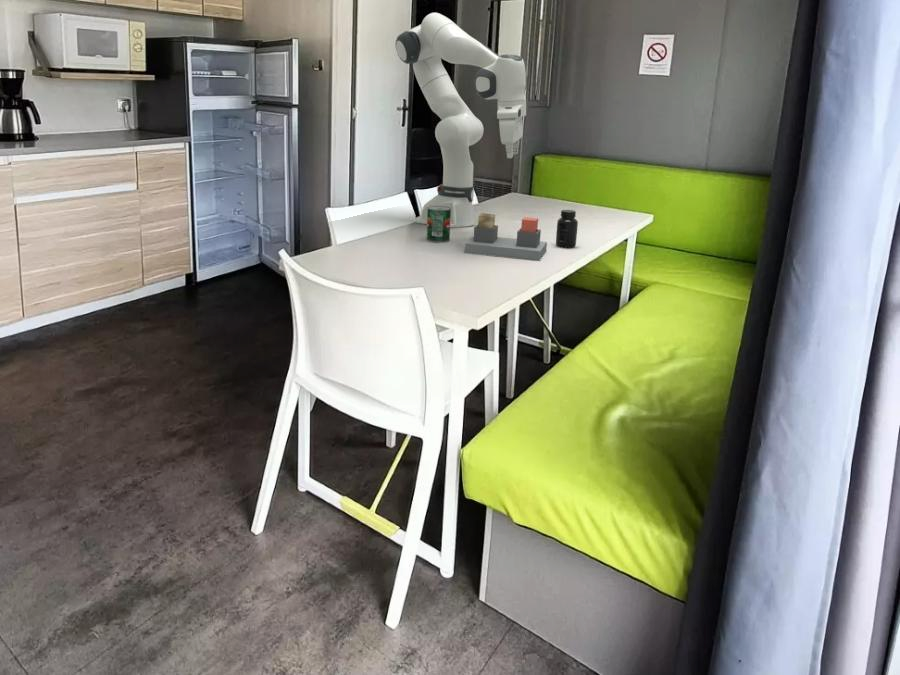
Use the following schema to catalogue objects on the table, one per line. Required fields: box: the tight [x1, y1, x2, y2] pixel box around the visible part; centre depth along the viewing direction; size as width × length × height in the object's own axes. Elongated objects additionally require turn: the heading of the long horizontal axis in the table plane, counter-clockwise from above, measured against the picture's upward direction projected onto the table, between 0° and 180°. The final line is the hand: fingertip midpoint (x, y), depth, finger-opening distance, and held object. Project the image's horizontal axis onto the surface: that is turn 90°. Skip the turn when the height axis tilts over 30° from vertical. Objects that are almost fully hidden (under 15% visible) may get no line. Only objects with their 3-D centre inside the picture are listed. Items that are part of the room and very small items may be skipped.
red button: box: [520, 217, 539, 233], centre depth 226 cm, size 4×4×4 cm
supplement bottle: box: [555, 209, 579, 249], centre depth 240 cm, size 7×7×12 cm
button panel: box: [464, 224, 548, 261], centre depth 230 cm, size 24×14×8 cm, turn 74°
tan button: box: [477, 212, 496, 229], centre depth 229 cm, size 4×4×4 cm
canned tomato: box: [426, 206, 451, 243], centre depth 241 cm, size 8×8×11 cm
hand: (512, 156), depth 228 cm, fingers open, 8 cm apart
